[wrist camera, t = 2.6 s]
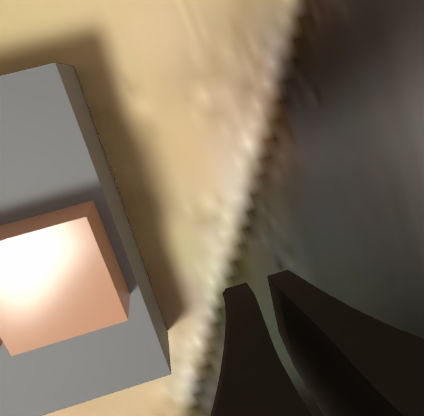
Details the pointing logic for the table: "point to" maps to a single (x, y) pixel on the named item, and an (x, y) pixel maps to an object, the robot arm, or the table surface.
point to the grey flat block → (115, 228)
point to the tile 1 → (58, 279)
